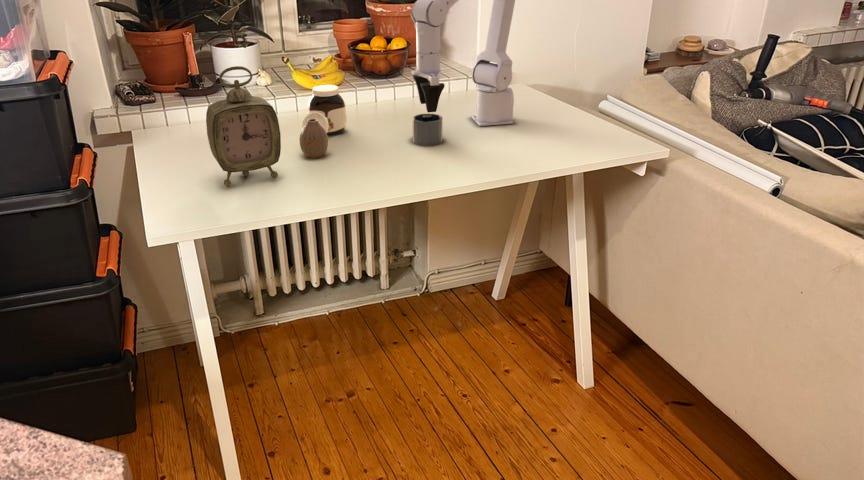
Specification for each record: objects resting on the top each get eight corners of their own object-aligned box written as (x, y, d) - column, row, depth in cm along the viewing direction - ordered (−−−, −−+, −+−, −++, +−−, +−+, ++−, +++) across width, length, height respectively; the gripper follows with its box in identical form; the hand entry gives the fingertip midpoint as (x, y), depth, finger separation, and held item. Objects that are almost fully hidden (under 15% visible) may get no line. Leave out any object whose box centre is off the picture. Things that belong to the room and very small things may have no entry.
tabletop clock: (220, 191, 152) (203, 74, 140) (212, 177, 159) (195, 66, 147) (285, 179, 157) (273, 66, 145) (274, 167, 164) (262, 58, 152)
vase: (333, 151, 172) (331, 117, 168) (322, 161, 167) (319, 125, 162) (307, 149, 174) (305, 114, 170) (296, 158, 169) (292, 123, 165)
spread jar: (345, 125, 191) (342, 83, 185) (350, 138, 181) (348, 94, 175) (301, 129, 189) (297, 86, 183) (304, 142, 179) (300, 97, 174)
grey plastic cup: (438, 135, 182) (438, 112, 179) (445, 144, 175) (445, 121, 172) (410, 137, 181) (410, 114, 178) (416, 146, 174) (416, 123, 171)
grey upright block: (430, 137, 179) (430, 114, 176) (432, 140, 177) (432, 116, 174) (422, 138, 178) (422, 114, 176) (424, 140, 177) (424, 117, 174)
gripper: (406, 46, 174) (406, 100, 180) (418, 59, 161) (418, 117, 168) (433, 44, 175) (433, 98, 181) (448, 57, 162) (447, 114, 169)
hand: (428, 107), depth 174 cm, fingers open, 7 cm apart
